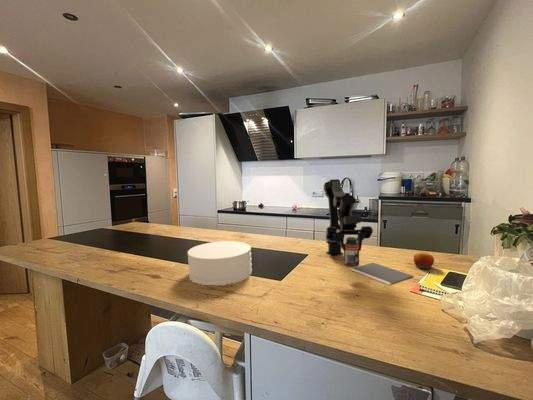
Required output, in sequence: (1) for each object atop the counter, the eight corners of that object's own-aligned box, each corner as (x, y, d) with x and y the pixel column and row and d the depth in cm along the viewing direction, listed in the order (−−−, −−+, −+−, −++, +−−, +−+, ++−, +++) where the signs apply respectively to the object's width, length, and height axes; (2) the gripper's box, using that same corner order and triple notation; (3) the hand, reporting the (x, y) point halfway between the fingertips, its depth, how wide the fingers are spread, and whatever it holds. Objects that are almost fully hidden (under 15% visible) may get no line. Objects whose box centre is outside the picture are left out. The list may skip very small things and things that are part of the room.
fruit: (413, 267, 118) (413, 249, 121) (413, 271, 124) (413, 254, 127) (435, 269, 114) (435, 251, 117) (433, 273, 121) (433, 256, 124)
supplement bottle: (347, 261, 115) (347, 235, 114) (361, 264, 112) (361, 237, 111) (341, 265, 111) (341, 239, 110) (356, 268, 107) (356, 240, 106)
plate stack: (241, 288, 106) (240, 259, 105) (177, 284, 112) (175, 257, 111) (258, 264, 133) (257, 241, 132) (205, 262, 139) (204, 240, 138)
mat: (349, 269, 121) (349, 268, 121) (373, 263, 129) (373, 262, 129) (388, 285, 104) (388, 284, 104) (413, 276, 111) (413, 275, 111)
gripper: (326, 208, 113) (332, 241, 103) (371, 207, 112) (381, 240, 103) (323, 223, 122) (328, 254, 112) (365, 222, 121) (373, 253, 111)
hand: (352, 250), depth 109 cm, fingers closed on supplement bottle, 6 cm apart
